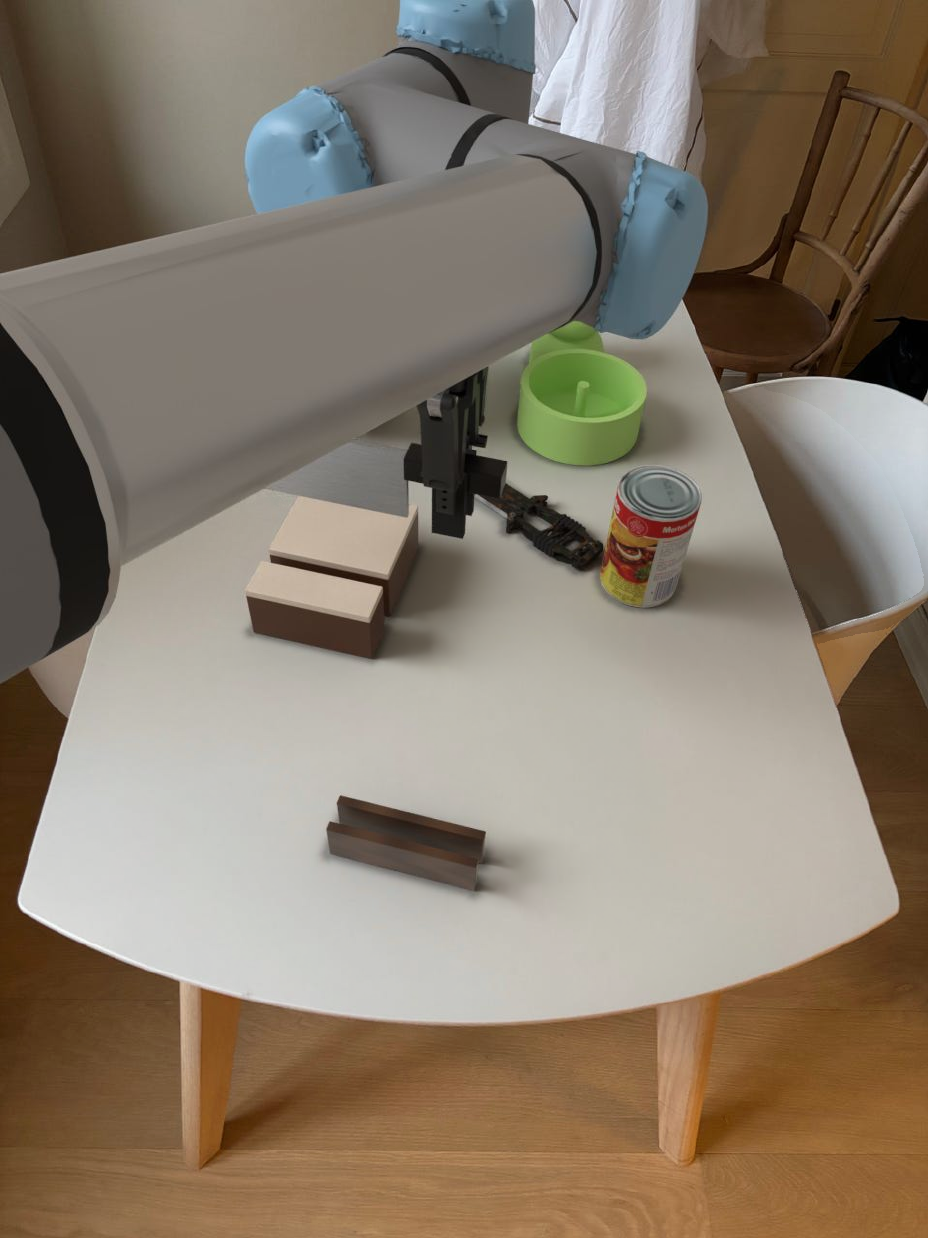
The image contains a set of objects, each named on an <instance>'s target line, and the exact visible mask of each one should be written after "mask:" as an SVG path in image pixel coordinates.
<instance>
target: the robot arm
mask: <svg viewBox="0 0 928 1238" xmlns="http://www.w3.org/2000/svg"><path fill="white" fill-rule="evenodd" d="M395 31H396V34H397V35H396V36H397V37H398V38H397V39H398V46H396V47H395V48H392V49H390V50H389V51H387V52H386V53H384V54H383V55H381V56H380V57H378V58H375V59H372V60H371V61H368V62H367V63H364V64H362V65H359V66H357V67H355V68H353V69H351V70H348V71H346V72H343V73H342V74H339V75H337V76H335V77H333V78H329V79H327V80H326V81H324V82H321V83H319V84H317V85H312V86H310V87H309V86H305V87H304V88H302V90H299V92H298V93H297V94H295V96H294V97H292V98H290V99H289V100H287V101H286V102H284V103H282V104H280V105H278V106H277V107H276V108H274V109H272V110H269V111H268V112H267V113H265V114H264V115H263V116H262V117H260V119H259V120H258V121H257V122H256V123H255V125H254V126H253V128H252V130H251V132H250V134H249V136H248V140H247V142H246V146H245V153H244V168H245V169H244V170H245V171H246V172H245V178H246V181H247V191H248V194H249V198H250V200H251V202H252V205H253V208H254V210H255V212H256V213H255V214H252V215H247V216H243V217H238V218H233V219H229V220H225V221H221V222H216V223H212V224H208V225H203V226H199V227H195V228H191V229H187V230H182V231H177V232H174V233H170V234H165V235H160V236H157V237H151V238H148V239H143V240H139V241H135V242H131V243H130V242H129V243H126V244H121V245H118V246H113V247H109V248H105V249H100V250H95V251H91V252H87V253H83V254H78V255H75V256H70V257H66V258H62V259H58V260H53V261H48V262H45V263H40V264H37V265H32V266H28V267H23V268H18V269H15V270H10V271H6V272H2V273H0V684H2V683H5V682H6V681H8V680H9V679H12V678H13V677H15V676H16V675H18V674H20V673H21V672H24V671H25V670H26V669H28V668H30V667H31V666H33V665H35V664H37V663H38V662H40V661H42V660H44V659H45V658H47V657H49V656H50V655H52V654H54V653H55V652H57V651H59V650H60V649H63V648H64V647H66V646H68V645H69V644H71V643H73V642H75V641H76V640H78V639H79V638H81V637H83V636H84V635H87V634H88V633H89V632H90V631H92V630H94V629H95V628H96V627H98V626H99V625H101V623H102V622H103V620H105V618H107V615H109V613H110V611H111V609H112V606H113V604H114V602H115V600H116V597H117V593H118V588H119V583H120V577H121V568H122V567H123V566H125V565H127V564H129V563H130V562H132V561H135V560H136V559H138V558H140V557H141V556H143V555H145V554H147V553H149V552H151V551H152V550H154V549H156V548H158V547H160V546H161V545H163V544H165V543H168V542H169V541H170V540H172V539H175V538H176V537H178V536H180V535H183V534H184V533H185V532H188V531H189V530H191V529H193V528H194V527H196V526H198V525H200V524H201V523H204V522H206V521H207V520H210V519H211V518H213V517H215V516H217V515H218V514H220V513H223V512H224V511H226V510H228V509H229V508H231V507H233V506H235V505H237V504H239V503H241V502H242V501H245V500H246V499H248V498H249V497H251V496H254V495H255V494H258V493H259V492H261V491H263V490H265V489H264V488H266V487H268V486H270V485H272V484H273V483H275V482H277V481H279V480H281V479H282V478H284V477H286V476H288V475H290V474H292V473H293V472H295V471H297V470H299V469H301V468H303V467H304V466H306V465H308V464H310V463H312V462H314V461H315V460H317V459H319V458H321V457H323V456H325V455H326V454H328V453H330V452H332V451H334V450H336V449H337V448H339V447H341V446H343V445H345V444H347V443H348V442H350V441H352V440H354V439H355V440H357V439H358V438H360V437H361V436H364V435H365V434H367V433H368V432H371V431H372V430H374V429H376V428H378V427H379V426H381V425H384V424H385V423H387V422H389V421H391V420H392V419H394V418H396V417H398V416H400V415H402V414H403V413H405V412H407V411H409V410H411V409H412V408H414V407H416V409H417V413H418V417H419V428H420V429H419V430H420V444H421V447H422V466H423V469H422V472H421V476H423V484H422V485H423V487H425V488H430V489H431V533H432V534H435V535H436V534H437V535H440V536H446V537H450V538H455V539H459V540H460V539H461V540H463V539H464V538H465V535H466V526H467V525H466V523H467V522H466V520H467V516H469V517H472V516H473V514H474V510H475V497H474V495H475V494H472V493H467V478H468V473H465V472H464V464H465V453H468V454H473V455H478V450H477V449H473V447H476V448H481V449H486V447H487V444H488V439H489V438H488V437H489V435H486V434H482V433H481V434H480V427H481V428H482V426H483V425H484V423H485V421H486V416H485V414H486V413H485V412H486V402H487V401H486V400H487V391H488V390H487V389H488V377H489V367H490V366H492V365H493V364H495V363H497V362H498V361H501V360H503V359H504V358H506V357H508V356H509V355H512V354H513V353H515V352H517V351H519V350H520V349H523V348H524V347H526V346H528V345H530V344H532V342H533V341H535V340H537V339H539V338H541V337H543V336H544V335H546V334H548V333H551V332H553V331H555V330H557V329H559V328H561V327H563V326H565V325H567V324H569V323H571V322H573V321H578V322H582V323H584V324H586V325H588V326H591V327H593V328H595V329H594V331H595V330H596V331H598V332H599V334H603V333H608V334H613V335H615V336H620V337H624V338H627V339H631V340H646V339H648V338H650V337H652V336H655V335H656V334H657V333H658V332H659V331H661V330H662V329H663V328H664V327H665V326H666V325H667V323H668V322H669V320H670V319H671V318H672V317H673V315H674V314H675V312H676V311H677V309H678V307H679V305H680V304H681V302H682V300H683V298H684V296H685V294H686V293H687V290H688V288H689V286H690V284H691V282H692V279H693V276H694V273H695V271H696V268H697V265H698V263H699V259H700V256H701V253H702V249H703V246H704V241H705V237H706V233H707V227H708V215H709V203H708V197H707V193H706V190H705V187H704V186H703V184H702V183H701V181H700V180H699V179H698V178H697V177H696V176H695V175H694V174H691V173H690V172H688V171H685V170H682V169H679V168H677V167H674V166H672V165H669V164H667V163H664V162H662V161H659V160H657V159H655V158H652V157H649V156H648V155H647V154H646V152H644V151H640V150H637V151H636V153H634V152H629V151H627V150H622V149H620V148H615V147H612V146H608V145H605V144H601V143H598V142H593V141H591V140H586V139H583V138H579V137H577V136H572V135H569V134H565V133H562V132H559V131H555V130H552V129H549V128H548V129H547V128H545V127H540V126H537V125H533V124H530V123H529V122H530V113H531V112H530V111H531V101H532V92H533V91H532V90H533V83H534V82H533V80H534V75H536V68H537V66H536V63H535V60H536V57H535V51H536V49H535V48H536V44H535V43H536V7H535V4H534V1H533V0H399V15H398V24H397V25H396V29H395Z"/></svg>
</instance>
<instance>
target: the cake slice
mask: <svg viewBox="0 0 928 1238" xmlns="http://www.w3.org/2000/svg"><path fill="white" fill-rule="evenodd" d="M244 593H245V596H246V601H247V607H248V612H249V617H250V622H251V627H252V631H253V633H255V634H260V635H263V636H268V637H272V638H278V639H281V640H284V641H285V640H286V641H290V642H294V643H299V644H304V645H307V646H312V647H318V648H322V649H326V650H330V651H335V652H338V653H342V654H347V655H352V656H356V657H360V658H366V659H369V660H372V659H374V656H375V653H376V650H377V648H378V646H379V643H380V640H381V639H382V636H383V634H384V631H385V628H386V627H385V615H384V602H383V587H381V586H377V585H372V584H367V583H363V582H358V581H353V580H349V579H344V578H339V577H335V576H330V575H325V574H321V573H316V572H311V571H307V570H302V569H297V568H293V567H288V566H284V565H279V564H274V563H271V561H265V560H261V561H260V563H259V565H258V566H257V568H256V570H255V572H254V573H253V576H252V577H251V578H250V580H249V583H248V584H247V586H246V587H245V589H244Z"/></svg>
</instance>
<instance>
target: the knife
mask: <svg viewBox="0 0 928 1238" xmlns="http://www.w3.org/2000/svg"><path fill="white" fill-rule="evenodd" d="M474 499H476V500H478V501H479V502H481V503H482V504H484V505H485V506H486V507H488V508H490V509H491V510H493V511H495V512H496V513H497V514H499V515H500V516H502V517H503V518H505V519H506V524H505V525H506V526H505V533H507V534H509V533H511V532H512V531H514V530H515V529H518V530H519V531H520V532H521V533H522V535H523V536H524V537H525V539H527V540H528V541H530V542H532V546H533V547H536V549H537V550H540V551H541V552H542V553H544V554H545V555H547V556H548V557H549V558H552V559H554V560H555V561H558V562H563V563H565V564H570V565H571V567H572V568H574V569H575V570H580V571H581V570H583V569H584V568H588V567H589V566H590V565H592V564H593V563H594V562H595V561H596V560H597V559H598V558H599V556H600V555H601V554H602V553H603V552H604V549H605V546H604V543H603V542H602V541H600V540H598V539H597V540H596V539H594V538H593V537H591V536H590V535H589V533H588V532H587V531H586V530H587V527H585V526H584V525H583V524H582V523H579V521H578V520H575V519H574V518H571V516H569V515H568V514H566V513H560V512H558V511H557V510H555V509H553V508H550V507H547V506H548V500H549V496H548V495H547V494H539V495H532V496H531V497H528V496H527V495H525V494H523V493H522V492H520V491H519V490H517V489H516V488H514V487H513V486H512V485H509V484H508V483H507V482H506V483H505V486H504V488H503V491H502V494H501V497H500V499H498V498H493V497H487V496H482V495H477V494H475V495H474ZM507 501H508V502H507ZM510 503H511V504H510ZM543 512H544V513H545V514H544V513H543ZM525 513H526V514H527V515H530V514H531V513H533V514H534V515H536V516H537V517H538V518H540V519H542V520H544V521H545V522H547V523H548V524H550V525H551V526H549V527H547V528H545V529H543V530H540V529H538V528H537V527H535V526H534V525H532V524H531V523H530V522H528V521H526V520H524V514H525ZM557 532H558V533H557ZM556 538H559V539H558V540H556ZM573 540H574V541H576V542H578V543H579V544H580V545H578V546H577V547H576V548H574V549H573V550H570V549H568V547H566V546H567V545H568V544H569V543H571V542H572V541H573ZM590 543H591V544H590ZM582 555H583V556H582ZM581 556H582V557H581ZM570 557H571V558H570Z"/></svg>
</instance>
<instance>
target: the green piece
mask: <svg viewBox="0 0 928 1238" xmlns="http://www.w3.org/2000/svg"><path fill="white" fill-rule="evenodd" d="M594 329H595V328H593V327H591V326H588V325H586V324H584V323H582V322H578V321H573V322H571V323H569V324H567V325H565V326H563V327H561V328H559V329H557V330H555V331H553V332H551V333H548V334H546V335H544V336H543V337H541V338H539V339H537V340H535V341H533V342H532V343H530V344H531V345H530V347H529V348H530V350H529V359H528V364H527V365H526V366H525V368H524V370H523V371H522V374H521V378H520V386H519V398H518V408H517V419H516V426H517V427H516V428H517V432H518V434H519V436H520V438H521V439H522V440H523V442H524V443H525V445H526V446H528V447H529V448H530V450H532V451H534V452H535V453H536V454H538V455H540V456H542V457H543V458H546V459H549V460H550V461H553V462H557V463H561V464H564V465H571V466H586V467H587V466H588V467H589V466H590V467H591V466H597V465H598V466H599V465H604V464H607V463H611V462H614V461H616V460H619V459H620V458H622V457H624V456H625V455H626V454H628V453H629V452H630V451H631V450H632V449H633V447H634V446H635V444H636V442H637V441H638V436H639V431H640V427H641V422H642V419H643V413H644V407H645V403H646V399H647V392H648V389H647V385H646V381H645V379H644V378H643V376H642V374H641V373H640V372H639V371H638V370H637V369H636V368H635V367H634V366H633V365H631V364H630V363H629V362H627V361H626V360H624V359H621V358H620V357H617V356H615V355H612V354H610V353H606V352H605V349H604V342H603V338H602V337H601V333H600V332H598V331H596V330H595V331H594Z"/></svg>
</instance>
